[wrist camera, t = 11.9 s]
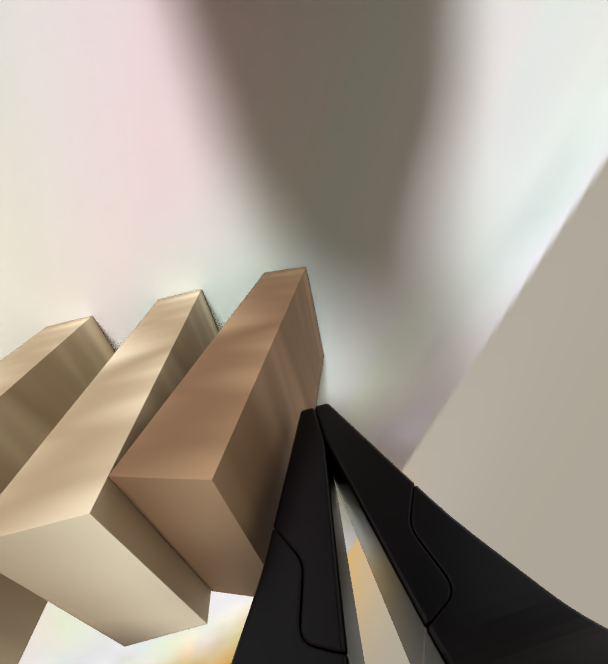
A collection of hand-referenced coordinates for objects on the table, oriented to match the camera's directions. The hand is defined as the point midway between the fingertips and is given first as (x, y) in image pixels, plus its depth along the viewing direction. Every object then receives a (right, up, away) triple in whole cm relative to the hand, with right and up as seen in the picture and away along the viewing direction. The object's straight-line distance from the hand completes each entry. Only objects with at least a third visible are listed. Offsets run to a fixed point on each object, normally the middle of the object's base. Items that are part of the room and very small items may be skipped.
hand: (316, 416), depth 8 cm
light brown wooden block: (-6, +2, +6) cm, 8 cm away
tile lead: (-1, +3, +6) cm, 7 cm away
